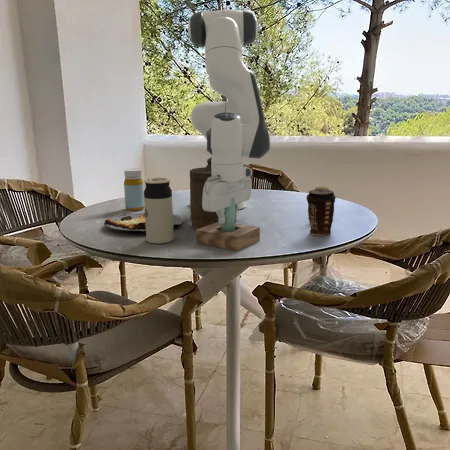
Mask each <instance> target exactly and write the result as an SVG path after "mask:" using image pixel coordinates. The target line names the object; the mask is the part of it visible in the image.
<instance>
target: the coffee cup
mask: <svg viewBox="0 0 450 450" xmlns="http://www.w3.org/2000/svg"><path fill="white" fill-rule="evenodd" d="M336 198H337V197H336V194H335V192H334V191H333V190H331V189H329V190H325V189H324V190H321V189H319V190H317V189H316V190H314V189H312V190H308V194H306V201H307V205H308V207H307V214H308V215H307V217H308V221H309V226H310V230H309V234H310V235H311V234H312V236H314V237H325V236H330V235H331V234H332V231H331V230H332V225H333V222H334V214H335V213H334V212H335V202H336Z"/></svg>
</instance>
